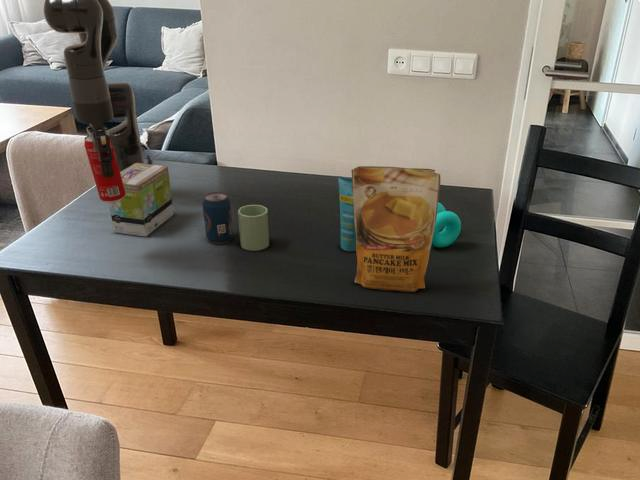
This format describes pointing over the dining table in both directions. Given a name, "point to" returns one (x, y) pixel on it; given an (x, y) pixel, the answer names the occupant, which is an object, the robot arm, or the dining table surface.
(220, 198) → the soda can
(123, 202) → the tea box
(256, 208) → the tumbler
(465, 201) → the dining table surface
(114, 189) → the beverage can
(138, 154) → the robot arm
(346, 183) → the tube
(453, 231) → the donuts
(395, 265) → the pancake mix bag
